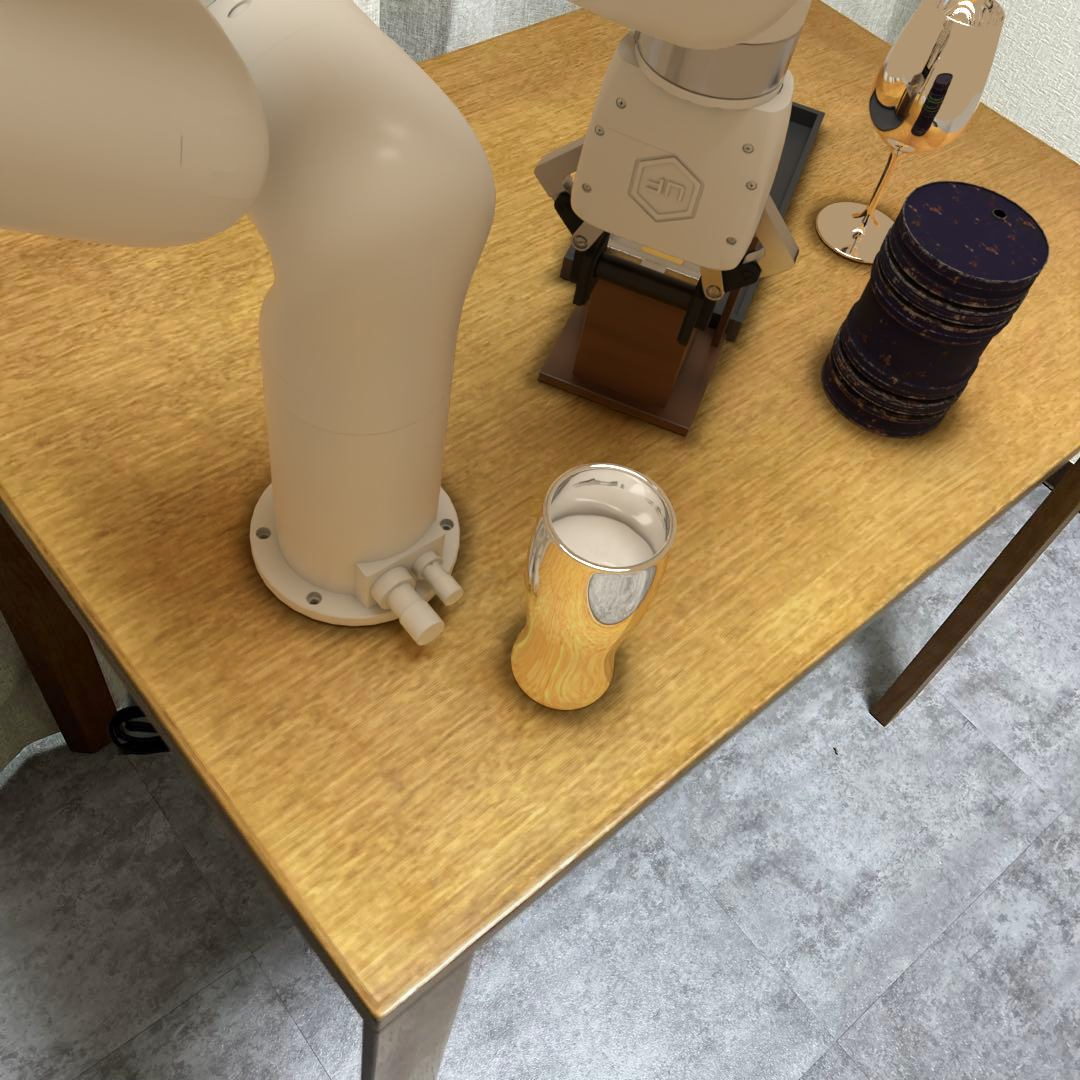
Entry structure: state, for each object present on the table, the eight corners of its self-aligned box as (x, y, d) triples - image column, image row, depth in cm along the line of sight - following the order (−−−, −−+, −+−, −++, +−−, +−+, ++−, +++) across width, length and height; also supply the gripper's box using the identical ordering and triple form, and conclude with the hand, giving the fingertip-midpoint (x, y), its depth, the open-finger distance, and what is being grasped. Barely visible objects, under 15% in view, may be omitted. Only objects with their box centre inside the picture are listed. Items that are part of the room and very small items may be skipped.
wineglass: (899, 212, 95) (1012, -14, 79) (908, 273, 91) (1030, 46, 75) (811, 196, 95) (907, -35, 79) (815, 256, 90) (918, 24, 74)
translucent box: (696, 349, 67) (713, 304, 64) (565, 300, 68) (576, 253, 65) (752, 217, 76) (769, 171, 73) (636, 175, 77) (648, 128, 74)
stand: (686, 437, 77) (730, 321, 68) (537, 380, 78) (562, 259, 69) (724, 341, 83) (770, 224, 74) (586, 289, 84) (614, 168, 75)
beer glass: (609, 731, 63) (671, 591, 51) (491, 701, 63) (525, 554, 51) (628, 629, 67) (689, 477, 55) (516, 601, 67) (554, 443, 55)
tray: (734, 342, 83) (742, 322, 82) (559, 277, 85) (563, 256, 83) (817, 132, 101) (825, 112, 99) (671, 80, 102) (676, 60, 100)
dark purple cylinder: (896, 461, 79) (996, 305, 66) (793, 376, 82) (870, 213, 70) (973, 400, 83) (1079, 244, 71) (872, 322, 87) (957, 161, 75)
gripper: (523, 14, 52) (483, 299, 67) (872, 137, 50) (753, 402, 65) (577, -53, 56) (528, 228, 71) (900, 58, 55) (783, 323, 69)
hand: (636, 309), depth 68 cm, fingers closed on translucent box, 6 cm apart
